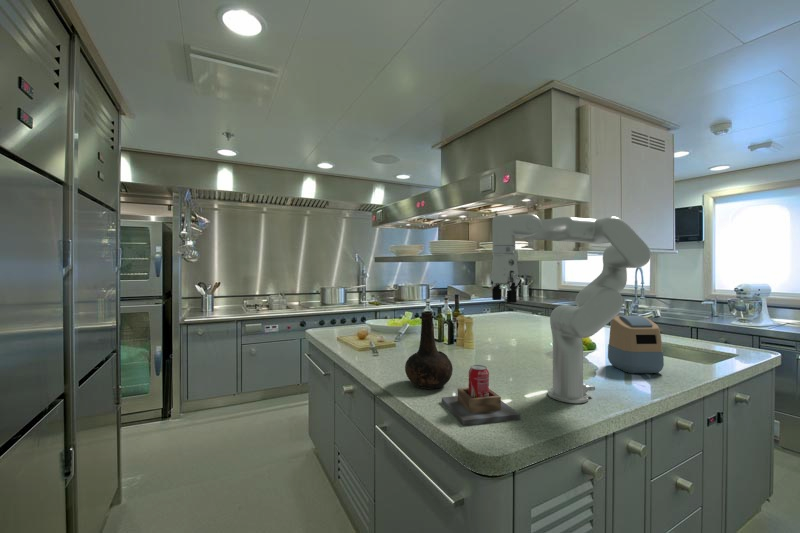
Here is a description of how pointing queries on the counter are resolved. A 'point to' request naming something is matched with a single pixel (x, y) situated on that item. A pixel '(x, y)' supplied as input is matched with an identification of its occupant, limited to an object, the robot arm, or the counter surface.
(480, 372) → the beverage can
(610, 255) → the robot arm
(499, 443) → the counter surface
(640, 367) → the tan and blue appliance
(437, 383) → the dark brown vase
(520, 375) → the counter surface
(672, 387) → the counter surface
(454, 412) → the can holder
